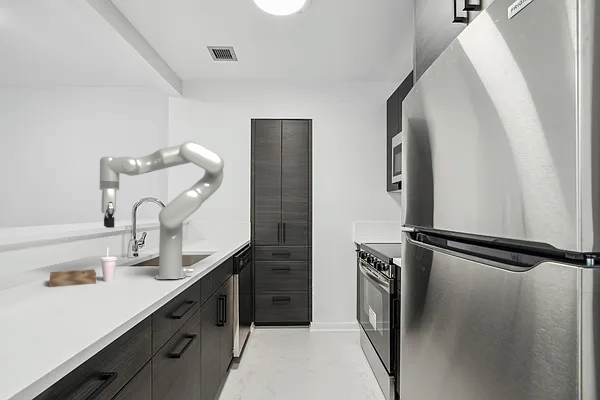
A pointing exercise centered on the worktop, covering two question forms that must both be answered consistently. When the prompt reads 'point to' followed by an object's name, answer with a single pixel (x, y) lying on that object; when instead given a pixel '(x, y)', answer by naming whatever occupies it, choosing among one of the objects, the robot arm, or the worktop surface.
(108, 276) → the smoothie
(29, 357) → the worktop surface
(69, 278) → the cutout board
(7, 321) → the worktop surface
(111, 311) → the worktop surface
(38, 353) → the worktop surface
